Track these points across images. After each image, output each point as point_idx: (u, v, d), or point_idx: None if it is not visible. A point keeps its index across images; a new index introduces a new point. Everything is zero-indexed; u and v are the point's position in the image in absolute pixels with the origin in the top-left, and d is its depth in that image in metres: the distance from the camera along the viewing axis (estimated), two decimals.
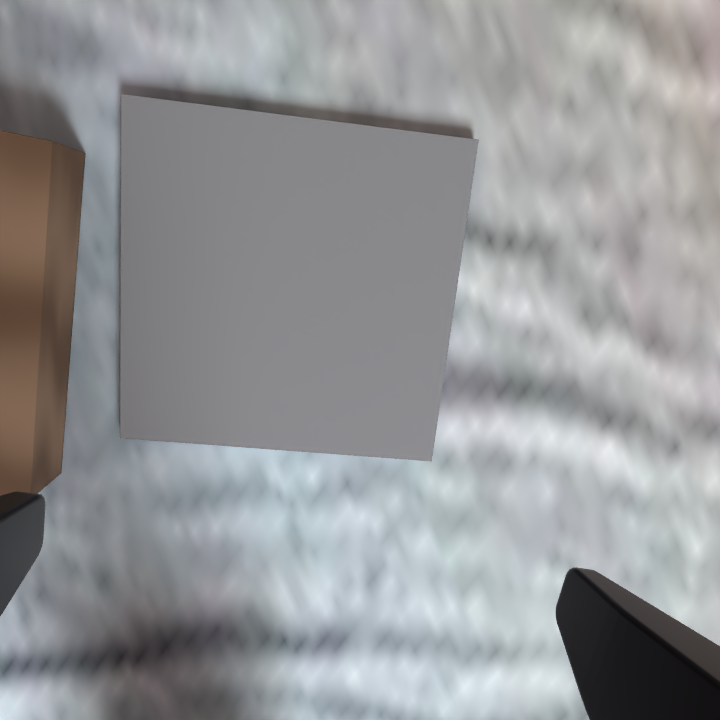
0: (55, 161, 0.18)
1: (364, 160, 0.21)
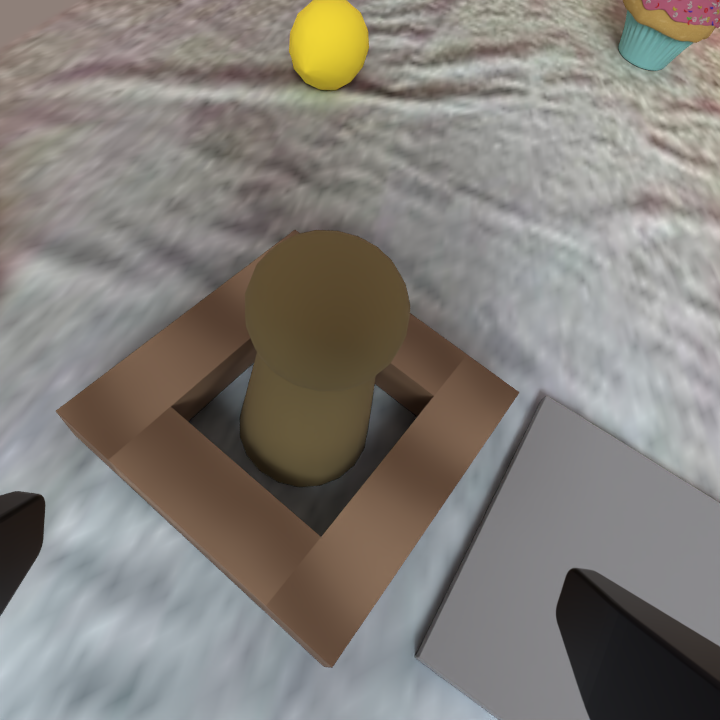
0: (510, 404, 0.24)
1: (712, 523, 0.24)
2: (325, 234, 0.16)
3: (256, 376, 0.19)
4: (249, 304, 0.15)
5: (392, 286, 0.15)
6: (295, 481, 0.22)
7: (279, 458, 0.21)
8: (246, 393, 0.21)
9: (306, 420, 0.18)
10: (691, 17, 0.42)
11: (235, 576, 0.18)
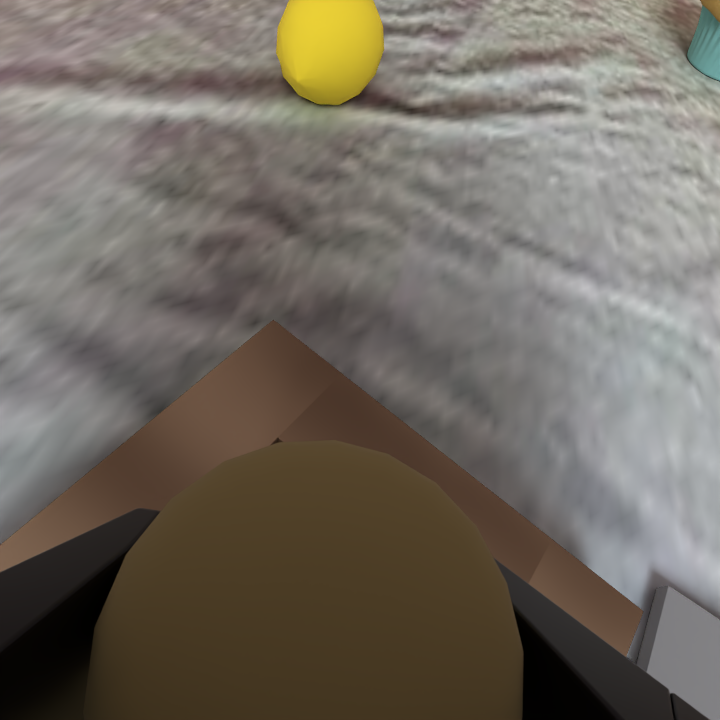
0: (629, 632, 0.14)
1: None
2: (306, 472, 0.06)
3: None
4: (84, 711, 0.05)
5: (489, 642, 0.05)
6: None
7: None
8: None
9: None
10: None
11: None
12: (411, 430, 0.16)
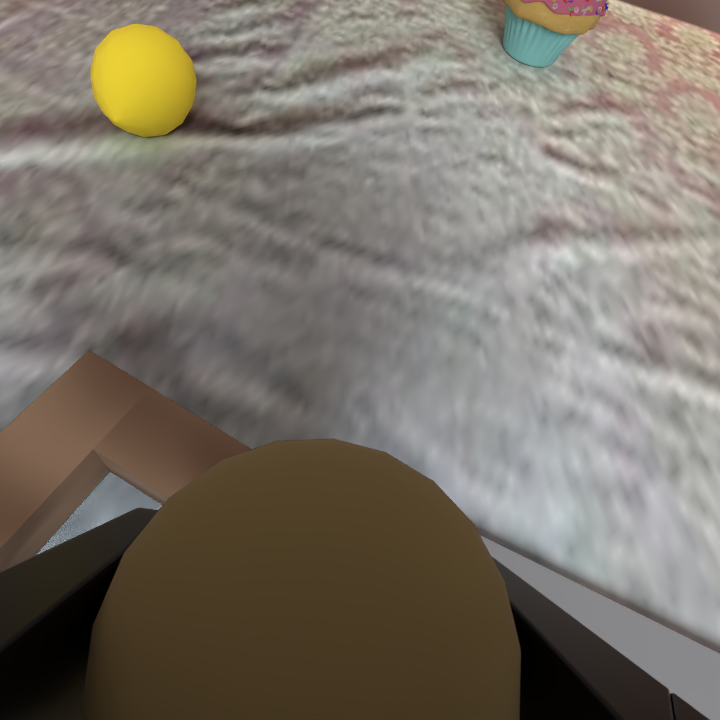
0: None
1: (649, 655, 0.20)
2: (304, 470, 0.06)
3: None
4: (82, 709, 0.05)
5: (487, 641, 0.06)
6: None
7: None
8: None
9: None
10: (572, 7, 0.38)
11: None
12: (212, 426, 0.20)
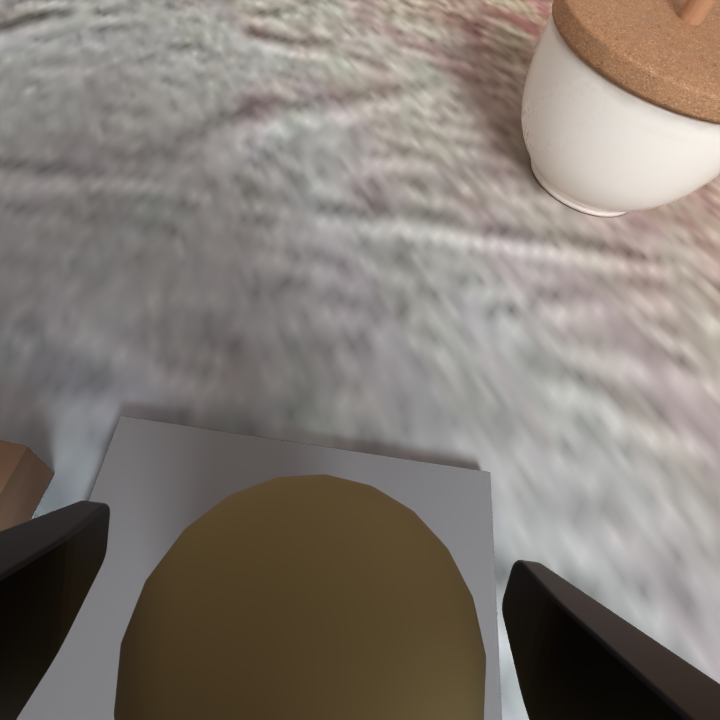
0: (19, 469, 0.15)
1: None
2: (301, 505, 0.07)
3: None
4: (116, 712, 0.06)
5: (454, 649, 0.07)
6: None
7: None
8: None
9: None
10: None
11: None
12: None
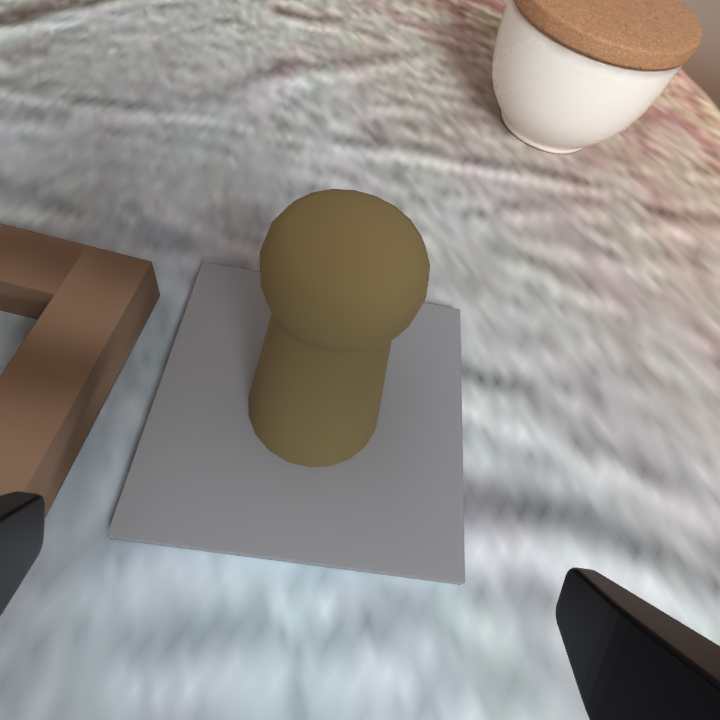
0: (147, 276, 0.24)
1: None
2: (342, 192, 0.15)
3: (268, 345, 0.18)
4: (265, 260, 0.14)
5: (412, 243, 0.15)
6: (305, 460, 0.21)
7: (290, 434, 0.20)
8: (256, 369, 0.21)
9: (320, 389, 0.18)
10: None
11: None
12: None
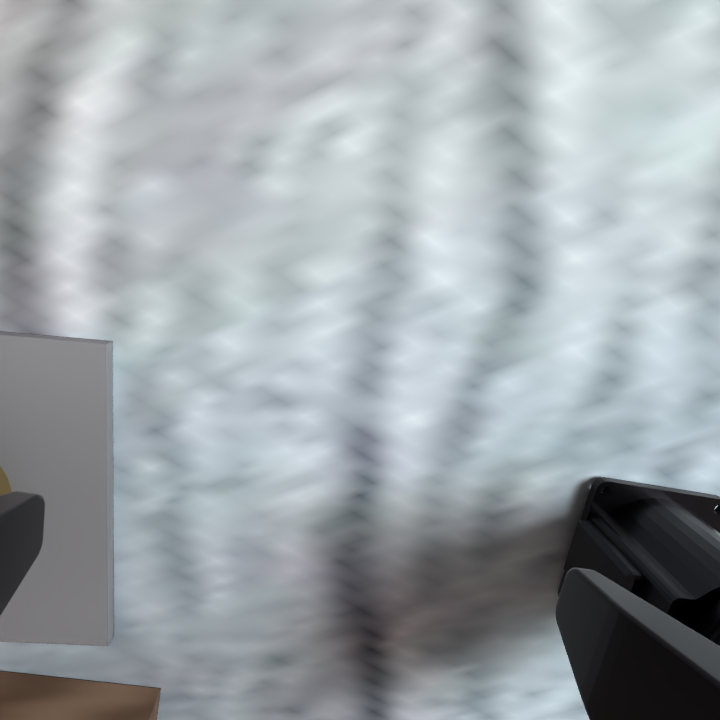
0: None
1: None
2: None
3: None
4: None
5: None
6: None
7: None
8: None
9: None
10: None
11: None
12: None
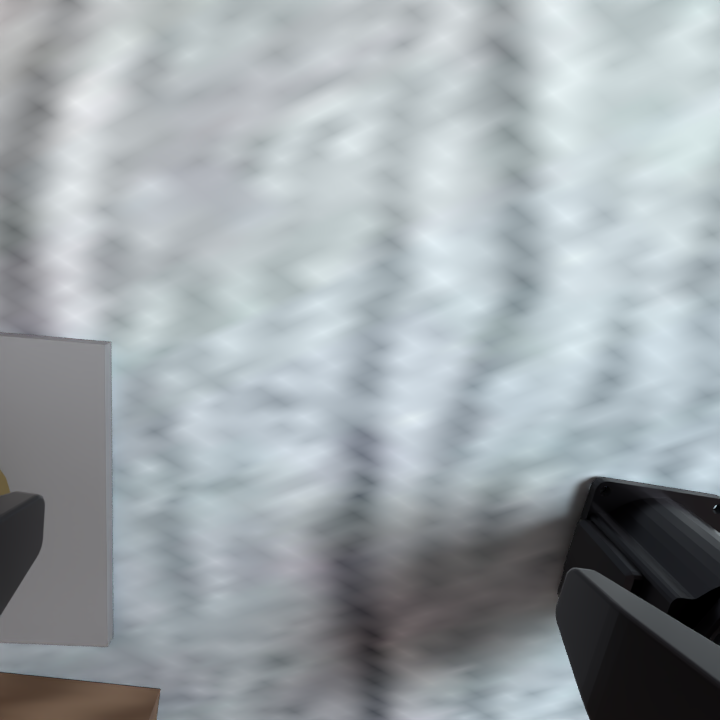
0: None
1: None
2: None
3: None
4: None
5: None
6: None
7: None
8: None
9: None
10: None
11: None
12: None
